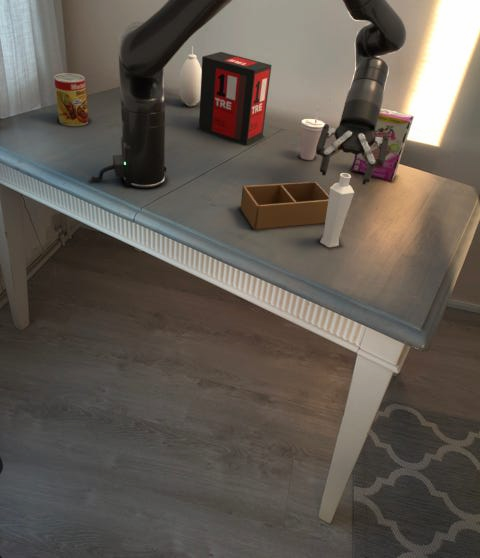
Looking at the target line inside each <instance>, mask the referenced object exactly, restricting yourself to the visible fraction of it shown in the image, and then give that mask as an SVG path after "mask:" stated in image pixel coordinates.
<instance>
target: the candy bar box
mask: <svg viewBox="0 0 480 558" xmlns="http://www.w3.org/2000/svg"><path fill="white" fill-rule="evenodd" d="M413 121H414V115H411V114H408V113H404V112H399V111H394V110H391V109H388V108H383V107H381V110H380V113H379V117H378V121H377V125H376V129H375V137H381V138H383V137H384V136H388V138H389V140H388V146H387V151H386V157H385V162H384V164H383V167H381V168H380V167H375V168H373V172H372V176H371V177H373V178H378V179H380V180H381V179H382V180H384V181H388V182H392V181H393V180H394V178H395V177H396V175H397V171H398V168H399V165H400V161H401V159H402V155H403V152H404V149H405V145H406V142H407V140H408V136H409V133H410V131H411V127H412V124H413ZM370 149H371V151H372V155H373V157H374V159H378V158H379V152H380V149H379V148H377V144H376V143H374V144H372V145H371V146H370ZM366 167H367V163H366V161H365V160H364V159H363V157H362V154H358V155H356V154H354V158H353V162H352V166H351V171H353V172H356V173H359V174H362V175H365V171H366Z"/></svg>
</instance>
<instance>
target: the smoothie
mask: <svg viewBox="0 0 480 558" xmlns="http://www.w3.org/2000/svg"><path fill="white" fill-rule="evenodd" d="M319 113H320V106H319V105H318V106H317V108H316V112H315V118H304V119H302V120H301V122H300V126H301V135H300V136H301V137H300V152H299V153H300V154H299V157H300V158H301V159H302V160H306V161H312V160H314V158H315V155H316V154H317V153H316V147H317V144H318V141H319V138H320V135H321V132H322V129H323V126H324V125H325V124H326V123H325V122H324V121H322V120H320V119H318V117H319Z"/></svg>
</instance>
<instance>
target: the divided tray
mask: <svg viewBox="0 0 480 558" xmlns="http://www.w3.org/2000/svg"><path fill="white" fill-rule="evenodd" d="M328 200H329V193H327V191H326V190H325V189H324V188H323V187H322V186H321V185H320V184H319V183H318V182H317V181H301V182H300V181H299V182H286V183H285V182H284V183H270V184H254V185H242V191H241V200H240V207H239V208H240V210H241V212H242V213H243V215H244V217H245V218H246V219H247V221H248V223H249V224H250V225H251V228H252V229H253V230H265V229H275V228H287V227H296V226H305V225H317V224H318V225H319V224H325V221H326V214H327V207H328Z"/></svg>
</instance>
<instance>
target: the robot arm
mask: <svg viewBox="0 0 480 558" xmlns="http://www.w3.org/2000/svg"><path fill="white" fill-rule="evenodd" d="M232 2H233V0H167V1H166V2H165V3H164V5H162V6H161V8H159V9H158V10H157V11H156V12H154V14H152V15H151V16H150V17H149V18H148V19H146V20H145V21H144V20H135V21H132V22H129V23H127V24H126V25H125V26H124V27H123V28H122V29H121V31H120V34H119V36H118V39H117V54H118V70H119V71H118V74H119V95H120V109H121V110H120V113H121V133H122V135H121V137H120V145H121V154H113V155H112V164H111V165H108V166H105V167H103V168H101V170H100V171H99V172H98V176H91V181H92V182H99V181H101V180H103V178H104V174H105V173H107V172H109V171H111V170H113V171H114V174H115V177H116V178H123V181H124V183H125V186H126V187H133V188H138V189H153V188H158V187H160V186H162V185H163V184H164V183H165V180H166V177H165V174H166V173H167V167H166V166H165V157H166V156H165V155H166V154H165V151H166V149H165V148H166V147H165V145H166V144H165V143H166V141H165V139H166V138H165V137H166V136H165V135H166V134H165V133H166V132H165V131H166V129H165V128H166V127H165V125H166V118H165V117H166V94H165V93H166V92H165V80H164V79H165V75H164V74H165V73H164V72H165V70H164V69H165V67H166V66H167V64H169V62H170V61H171V60H172V59H173V58H174V56H175V55H176V54H177V53H178V51H180V49H181V48H182V47H183V46H184V45H185V44H186V43H187V41H189V39H190V38H191V37H192V36H193V35H194V34H196V32H197V31H199V30H200V29H201V28H202V27H204V26H205V25H206V24H208V22H210V21H211V20H212V19H213V18H214V17H216V16H217V15H218V14H219V13H220V12H221V11H222V10H223V9H224V8H226V7H227V6H228V5H229V4H230V3H232ZM342 3H343V4H344V6H345V8H346V10H347V13H348V15H349V16H350V18H351V19H352V20H353V21H355V22H370V23H367V24H365V25H363V26H362V27H360V29H359V30H358V32H357V33H356V36H355V39H354V52H355V53H354V56H355V57H354V59H355V66H354V68H355V69H354V72H353V76H352V80H351V84H350V87H349V89H348V91H347V95H346V98H345V102H344V106H343V110H342V113H341V117H340V121H339V125H338V126H337V127H336V128H335V127H330V125H329V124H328V123H325V125H324V126H323V129H322V132H321V135H320V138H319V141H318V144H317V147H316V153H315V154H316V155H318V156H321V157H322V159H321V162H320V166H319V172H320V173H321V175H322V176H324V177H325V176H326V174H327V171H328V167H329V163H330V159H331V157H333V156H334V155H336V154H338V153H339V152H340V151H342V153H347V154H348V153H349V154H350V153H351V154H353V155H355V154H356V155H358V154H362V157H363V159H364V160H365V161H366V163H367V167H366V171H365V174H363V179H362V185H366V184H367V183H370V181H371V179H372V177H373V176H372V172H373V168H375V167H380V168H381V167H383V164H384V162H385V157H386V151H387V146H388V140H389V138H388V136H384V137H383V138H381V137H375V129H376V125H377V121H378V117H379V113H380V110H381V108H382V105H383V101H384V92H385V88H386V85H387V80H388V76H389V71H390V70H389V65H388V63H387V61H385V60H384V59H382V58H381V57H383V56H386V55H390V54H393V53H396V52H399V51H400V50H402V48H403V47H404V45H405V43H406V40H407V30H406V26H405V23H404V22H403V20H402V18H401V17H400V15H399V14H398V13H397V12H396V10H395V9H394V8H393V7H392V5H390V3H389V2H388V1H387V0H342ZM332 136H334V138H335V141H333V142H332V143H331V144H330V145H329V146H328V147H327V148H325V145H326V142H327V139H330V138H331V137H332ZM374 143H376V144H377V148H379V149H380V152H379V158H378V159H374V157H373V155H372V151H371V149H370V146H371V145H372V144H374Z"/></svg>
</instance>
